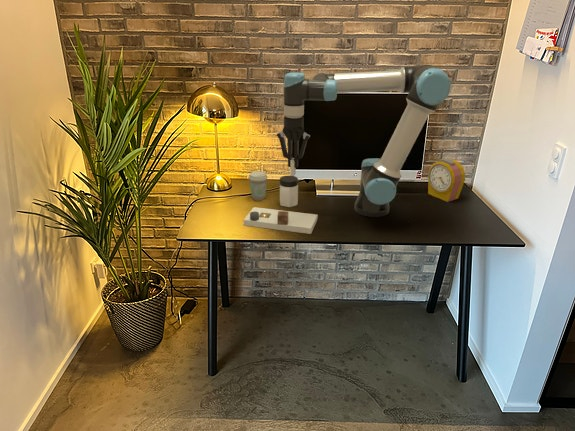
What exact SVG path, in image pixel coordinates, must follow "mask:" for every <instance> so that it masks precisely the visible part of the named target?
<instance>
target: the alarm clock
mask: <svg viewBox="0 0 575 431" xmlns="http://www.w3.org/2000/svg"><path fill="white" fill-rule="evenodd" d="M427 180H428V184H427V186H428V187H427V189H428V191H427V194H428V195H431V196H432V197H434V198H438V199H440V200H442V201H445V202H447V203H448V202H452V201H455V200H457V199H459V197H460V194H461V192H462V189H463V186H464V184H465V181H466V172H465V169H464V167H463V165H462V164H461V163H460V162H459V161H458V160H456V159H452V158H440V159H439V161H437V162H434V163H432V164H431V166H430V167H429V169H428V172H427Z"/></svg>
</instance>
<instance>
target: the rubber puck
mask: <svg viewBox="0 0 575 431" xmlns="http://www.w3.org/2000/svg"><path fill="white" fill-rule="evenodd" d="M249 213H250V212H249ZM250 220H252V221H257V220H259V213H258V212H251V213H250Z"/></svg>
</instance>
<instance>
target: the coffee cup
mask: <svg viewBox="0 0 575 431" xmlns="http://www.w3.org/2000/svg"><path fill="white" fill-rule="evenodd" d="M248 179H249V185H250V186H249V187H250V193H251V199H252V200H253V201H264V200H265V198H266V197H265V196H266V192H267V191H266V190H267V188H266V187H267V181H268V174H267V173H266V172H265V171H262V170H254V171H252V172H250V173H249V176H248Z"/></svg>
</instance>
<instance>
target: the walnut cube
mask: <svg viewBox="0 0 575 431" xmlns="http://www.w3.org/2000/svg"><path fill="white" fill-rule="evenodd" d="M286 211H287V210H282V211H278V215H277V224H278V225H288V212H286Z"/></svg>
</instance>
